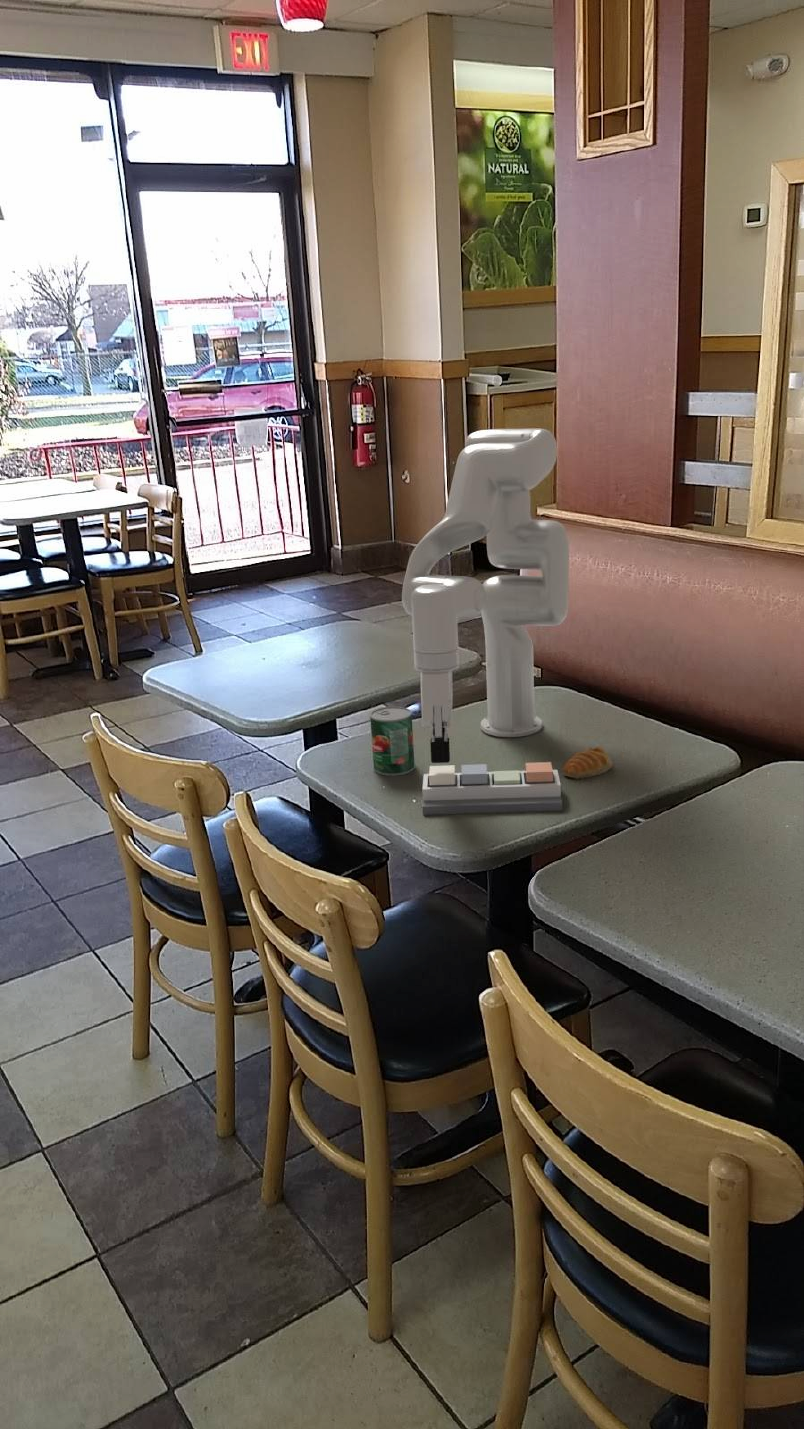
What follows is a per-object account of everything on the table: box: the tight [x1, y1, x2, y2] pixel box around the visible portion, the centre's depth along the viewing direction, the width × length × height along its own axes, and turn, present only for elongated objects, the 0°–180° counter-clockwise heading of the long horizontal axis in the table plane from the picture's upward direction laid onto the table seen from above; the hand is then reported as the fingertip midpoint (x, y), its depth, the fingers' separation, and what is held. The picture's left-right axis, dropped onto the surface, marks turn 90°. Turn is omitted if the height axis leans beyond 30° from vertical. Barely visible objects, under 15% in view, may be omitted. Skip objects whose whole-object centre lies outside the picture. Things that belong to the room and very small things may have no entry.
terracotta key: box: [525, 761, 554, 782], centre depth 191 cm, size 4×4×2 cm
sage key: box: [493, 770, 520, 785], centre depth 192 cm, size 4×4×2 cm
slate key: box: [461, 763, 488, 784], centre depth 192 cm, size 4×4×2 cm
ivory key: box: [428, 764, 456, 785], centre depth 192 cm, size 4×4×2 cm
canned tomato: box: [369, 706, 416, 776], centre depth 207 cm, size 8×8×11 cm
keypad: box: [421, 769, 563, 816], centre depth 192 cm, size 12×24×4 cm, turn 87°
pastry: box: [562, 746, 613, 780], centre depth 202 cm, size 9×7×4 cm
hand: (440, 760), depth 191 cm, fingers closed
